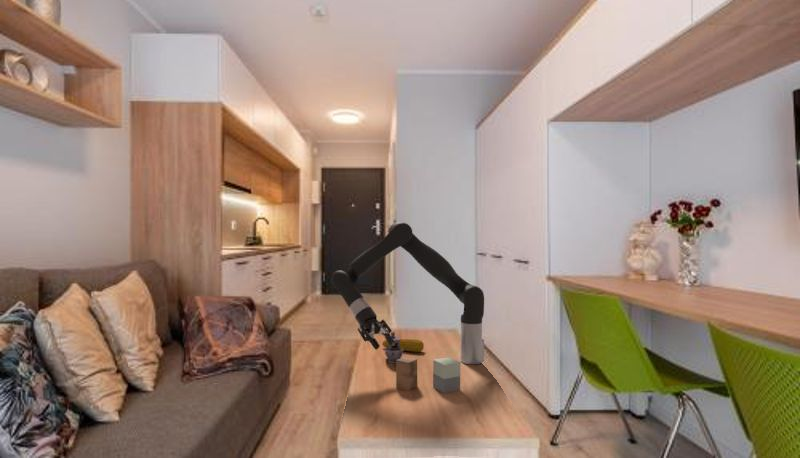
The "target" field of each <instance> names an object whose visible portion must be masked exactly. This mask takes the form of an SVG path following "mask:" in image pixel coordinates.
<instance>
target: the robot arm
mask: <svg viewBox="0 0 800 458" xmlns="http://www.w3.org/2000/svg"><path fill="white" fill-rule="evenodd" d="M400 247H401V248H402V249H403V250H405V251H406V252H408V253H409V255H411V257H413V259H414V260H415V261H416V262H417V263H418V264H419V265H420V266H421V267H422V268H423V269H424V270H425V271H426V272H427V273H428V274H429V275H431V276H432V278H434V279H435V280H437V281H438V282H439V283H441V284H442V285H444V286H445V287H446V288H447V289H448V290H450V291H451V293H453V294H454V296H455V297H456V298H457V299H458V300H459V301H460V302H461V303H462V304H463V313H462V314H461V315H460V363H463V364H467V365H479V364H481V363H484V362H485V341H484V339H483V318H484V315H485V314H484V313H485V295H484V292H483V289H481V288H480V286H476V285H474V284H471V283H469V282H467V281H466V280H465V279H463V278H462V277H461V276H460V275H458V273H457V272H456V270H455V269H454V267H453V266H452V264H450V262H449V261H448V260H447V259H446V258H445V257H443V255H441V253H439V252H438V251H437V250H435V249H433V248H432V247H430V246H429V245H428V244H426V243H424V242H422V241H421V240H420V239H419V238H418V236H416V235H415V234H414V233H413V228H412V226H411V225H410V224H408V223H406V222H402V221H398V222H397V221H396V222H394V223H392V224H390V226H389V228H388V233H387V234H386V236H384V237H383V238H382V239H381V240H380V241H378V242H377V243H376V244H374V245H373V246H371V247H370V248H367V250H365V251H364V252H362V253H361V254H360V255H359V256H357V257H356V258H355V259H353V261H351V262H350V264H349V268H348V269H347V270H346V271H344V270H335V271H334V272H333V273H332V275H331V278H330V279H331V280H330V281H331V284H332V286H333V287H334V288H335V289H336V291H337V292H338V294H340V296H341V297H342V299H343V300H344V302H345V304H346V305H347V307H348V308H349V310H350V312H351V314H352V316H353V317H354V319H355V320H356V321H357V323H358V325H359V327H358V328H357V331H358V333H359V334H360V336H361V338H362V339H363V342H368V343H370V344H371V346H372V347H373V348H374V350H378V349H379V348H380V347H381V346H380V344H379V342H378V340H377V339H376V338H375V335H379V336H383V337H384V338H385V339H384V340H387V341H388V343H389V344H390V345H392V344H393V343H394V340H393V339H392V337H391V332H392V331H393V330H392V328H391V327H390V326H389V325H388V323H387V322H386V321H385V320H384V319H382V320H380V321H379V320H378V319H377V318H378V317H377V314H376V311H374V310H373V308H372V307H371V305H370V304H369V302H368V301H367V299H365V298H364V296H363V295H362V293H361V292H360V290H359V289H358V288H357V287H356V286H355V284H356V283H357V282H358V281H359V280H360V278H361V277H362V276H363V275H364V274H365V273H367V272H368V271H370V270H371V268H373V267H374V266H375V265H377V264H378V263H379V261H381V260H382V259H384V258H385V257H386V256H387V255H388V254H390V253H391V252H393V251H394V250H396V249H398V248H400Z"/></svg>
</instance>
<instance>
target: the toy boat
mask: <svg viewBox="0 0 800 458" xmlns="http://www.w3.org/2000/svg"><path fill="white" fill-rule="evenodd" d="M390 335H391V337H392V339H393V340H394V343H395V344H394V345H390V344H389V348H385V347H384V355H385V356H386V358H387V360H388V361H387V362H388V363H390V364H396V360H398V359H400V358H403V357H402V356H403V354H404V351H403V349H402V350H400V341H401V339H402V338H401V337H399V336H398V335H397V336H395V335H396V332H395V331H394V330H392V331H391V332H390Z"/></svg>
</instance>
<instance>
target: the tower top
mask: <svg viewBox="0 0 800 458" xmlns="http://www.w3.org/2000/svg"><path fill="white" fill-rule="evenodd" d="M432 363H433V364H432V365H433V366H432V368H433V370H432V371H433V373H432V375H433V374H435V375H437V376H439V377H441V378H443V379H448V378H453V377H458V376H460V377H461V361H458V360H457V359H454V358H452V357H450V356H449V357H443V358H436V359H433V361H432Z"/></svg>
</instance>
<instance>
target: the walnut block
mask: <svg viewBox="0 0 800 458" xmlns="http://www.w3.org/2000/svg"><path fill="white" fill-rule="evenodd" d="M395 366H396V367H395V369H396V370H395V374H396V375H395V378H396V379H395V383H396V386H395V387H396V389H399V390H403V391H407V392H410V391H411V390H414V389H415V388H418V358H414V357H410V356H409V357H408V356H403V357H401V358H400V359H398V360H396V363H395Z"/></svg>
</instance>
